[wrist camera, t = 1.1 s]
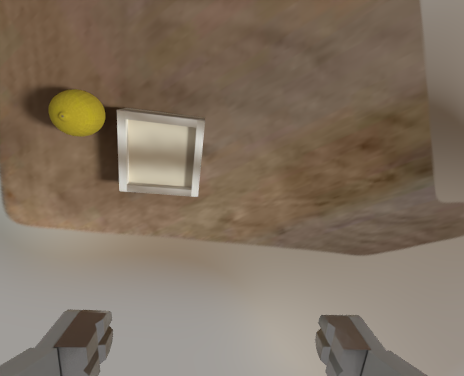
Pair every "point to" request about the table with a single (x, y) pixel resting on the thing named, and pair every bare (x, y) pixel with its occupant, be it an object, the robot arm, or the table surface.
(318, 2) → the table surface
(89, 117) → the lemon
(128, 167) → the base
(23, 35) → the table surface
